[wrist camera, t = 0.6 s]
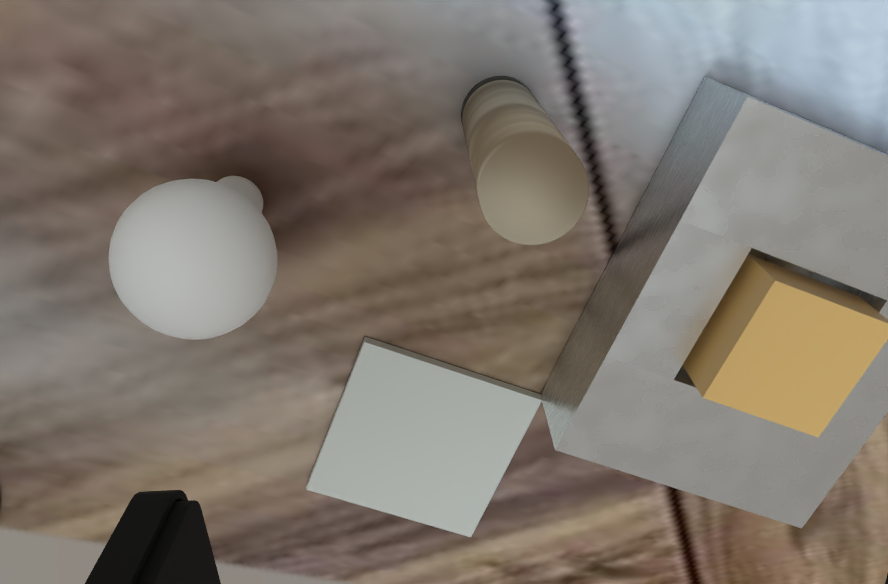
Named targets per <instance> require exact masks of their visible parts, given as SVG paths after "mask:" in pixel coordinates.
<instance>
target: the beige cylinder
mask: <svg viewBox="0 0 888 584" xmlns="http://www.w3.org/2000/svg"><path fill="white" fill-rule="evenodd" d="M461 120H462V125H463V130H464V134H465V139H466V143H467V148H468V152H469V157H470V161H471V166H472V170H473V175H474V179H475V184H476V188H477V193H478V197H479V202H480V206H481V210H482V213H483V215H484V217H485V219H486V221H487V222H488V224H489V225H490V227H491V228H492V229H493V230H494V231H495V232H496V233H498V234H499V235H500V236H502V237H503V238H505V239H507V240H509V241H512V242H515V243H518V244H524V245H539V244H544V243H548V242H551V241H554V240H556V239H558V238H560V237H561V236H563V235H564V234H566V233H567V232H568V231H570V230H571V229H572V228H573V227H574V226H575V225H576V223H577V222H578V221H579V219H580V218H581V216H582V214H583V213H584V210H585V208H586V206H587V202H588V197H589V181H588V176H587V173H586V170H585V168H584V166H583V164H582V162H581V161H580V159H579V158H578V157H577V155H576V154H575V152H574V151H573V150H572V148H571V147H570V145H569V144H568V143H567V141H566V140H565V139H564V137H563V136H562V134H561V133H560V132H559V130H558V129H557V127H556V126H555V125H554V123H553V122H552V120H551V119H550V118H549V116H548V115H547V114H546V112H545V111H544V109H543V108H542V107H541V105H540V104H539V102H538V101H537V100H536V98H535V97H534V96H533V94H532V93H531V91H530V90H529V89H528V88H527V87H526V86H525V85H524V84H523V83H521V82H520V81H518V80H516V79H514V78H511V77H506V76H496V77H491V78H488V79H485V80H483V81H481V82H480V83H478V84H477V85H475V86H474V87H473V88H472V89H471V91H470V92H469V93H468V95H467V96H466V98H465V100H464V103H463V106H462V112H461Z"/></svg>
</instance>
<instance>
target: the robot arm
mask: <svg viewBox="0 0 888 584" xmlns="http://www.w3.org/2000/svg"><path fill="white" fill-rule="evenodd" d="M85 584H221V583H220V579H219V575H218V571H217V567H216V564H215V560H214V556H213V552H212V548H211V544H210V541H209V537H208V533H207V529H206V525H205V522H204V518H203V514H202V510H201V507H200V504H199V503H198V502H197V501H188V499H187V497H186V494H185V493H184V492H183V491H181V490H170V491H149V492H139V493H137V494H135V495H134V497H133V498H132V499H131V501H130V503H129V505H128V506H127V508H126V510H125V512H124V514H123V515H122V517H121V519H120V521H119V523H118V524H117V526H116V528H115V530H114V532H113V534H112V535H111V537H110V539H109V541H108V543H107V544H106V546H105V548H104V550H103V552H102V554H101V555H100V557H99V559H98V561H97V563H96V564H95V566H94V568H93V570H92V572H91V573H90V575H89V577H88V579H87V581H86V583H85ZM885 584H888V575H887V579H886V583H885Z"/></svg>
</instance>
